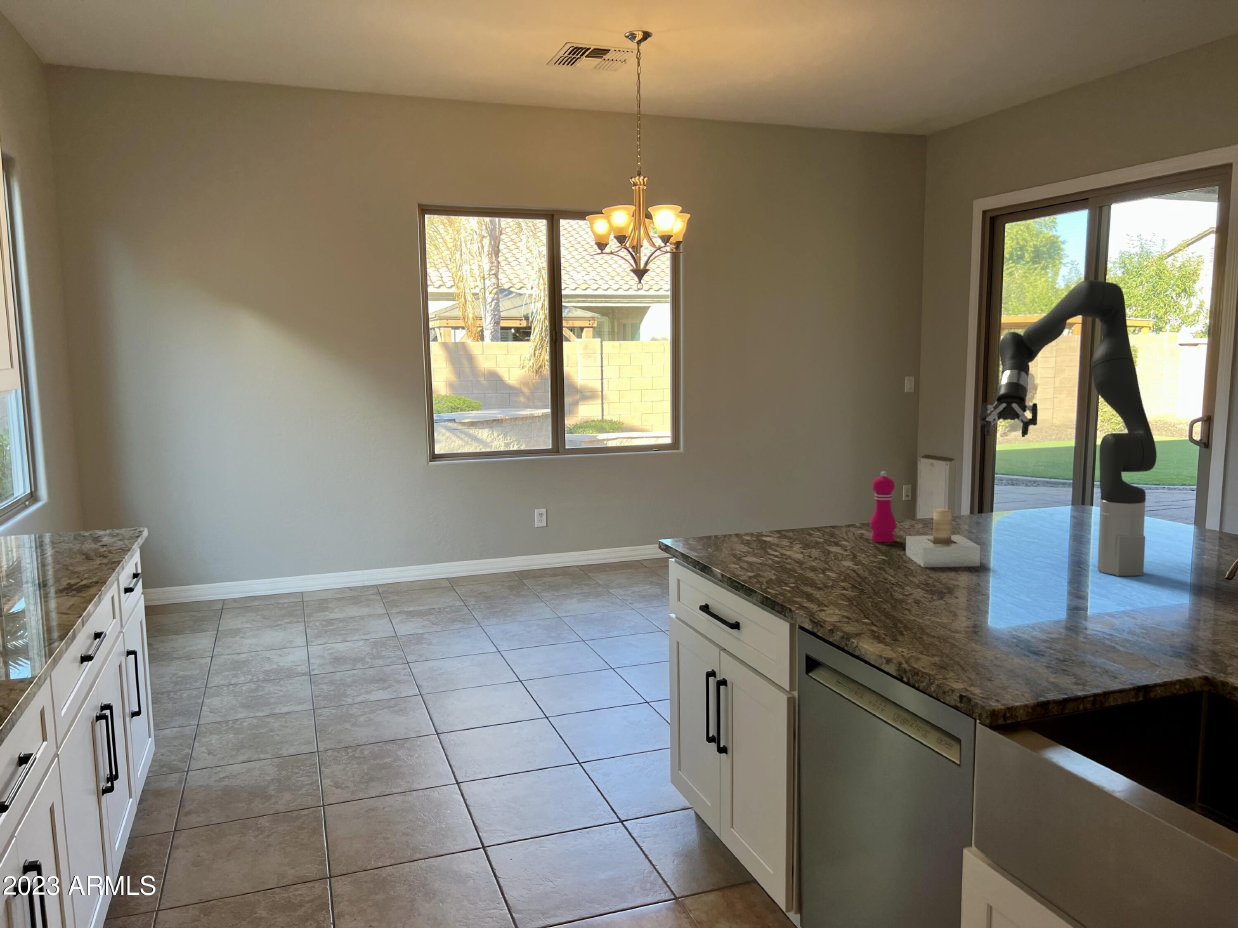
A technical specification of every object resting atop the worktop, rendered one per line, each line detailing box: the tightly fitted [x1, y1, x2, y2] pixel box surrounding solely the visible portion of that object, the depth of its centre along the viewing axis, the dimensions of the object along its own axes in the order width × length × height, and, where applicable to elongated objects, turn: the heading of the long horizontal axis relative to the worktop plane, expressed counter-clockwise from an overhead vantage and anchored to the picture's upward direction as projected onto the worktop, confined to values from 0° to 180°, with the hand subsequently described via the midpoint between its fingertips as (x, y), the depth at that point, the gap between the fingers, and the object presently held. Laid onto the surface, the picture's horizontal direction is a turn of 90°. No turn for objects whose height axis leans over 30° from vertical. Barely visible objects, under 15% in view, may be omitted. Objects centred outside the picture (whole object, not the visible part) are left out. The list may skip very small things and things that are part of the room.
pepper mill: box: [869, 471, 897, 543], centre depth 245 cm, size 7×7×20 cm
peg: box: [932, 508, 953, 544], centre depth 220 cm, size 4×4×13 cm
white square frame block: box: [905, 534, 981, 568], centre depth 221 cm, size 14×14×5 cm
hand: (1005, 434), depth 231 cm, fingers open, 8 cm apart
